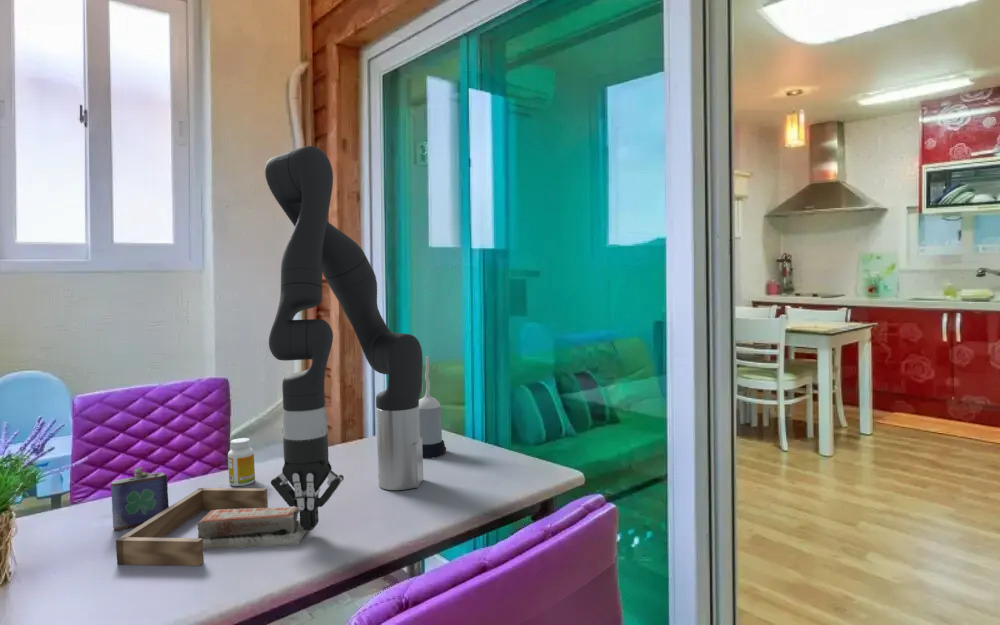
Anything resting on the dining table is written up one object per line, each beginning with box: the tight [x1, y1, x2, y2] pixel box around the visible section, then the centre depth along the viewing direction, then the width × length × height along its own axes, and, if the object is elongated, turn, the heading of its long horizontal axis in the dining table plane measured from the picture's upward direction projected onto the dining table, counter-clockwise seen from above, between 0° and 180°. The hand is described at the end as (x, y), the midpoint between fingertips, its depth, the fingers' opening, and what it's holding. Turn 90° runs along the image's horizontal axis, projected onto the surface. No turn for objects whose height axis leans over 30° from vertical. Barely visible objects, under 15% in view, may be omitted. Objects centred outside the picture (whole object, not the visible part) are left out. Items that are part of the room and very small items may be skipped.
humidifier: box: [419, 355, 447, 459], centre depth 160 cm, size 8×8×25 cm
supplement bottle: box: [227, 437, 256, 487], centre depth 140 cm, size 5×5×10 cm
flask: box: [110, 466, 170, 531], centre depth 118 cm, size 9×3×11 cm, turn 121°
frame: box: [115, 487, 269, 567], centre depth 113 cm, size 14×24×4 cm, turn 175°
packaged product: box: [197, 506, 308, 550], centre depth 112 cm, size 18×5×10 cm
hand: (309, 528), depth 111 cm, fingers closed
